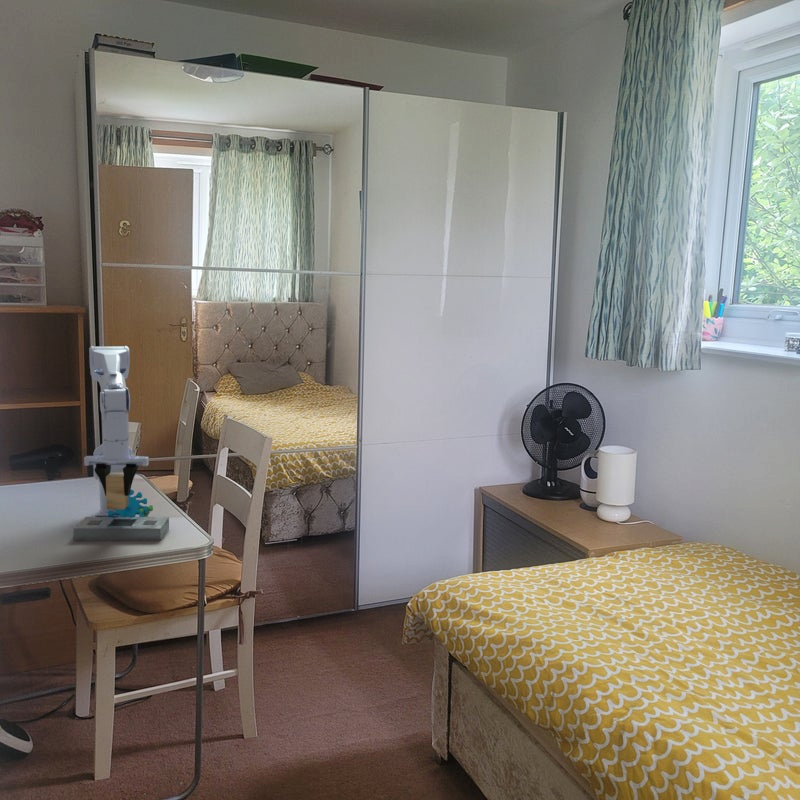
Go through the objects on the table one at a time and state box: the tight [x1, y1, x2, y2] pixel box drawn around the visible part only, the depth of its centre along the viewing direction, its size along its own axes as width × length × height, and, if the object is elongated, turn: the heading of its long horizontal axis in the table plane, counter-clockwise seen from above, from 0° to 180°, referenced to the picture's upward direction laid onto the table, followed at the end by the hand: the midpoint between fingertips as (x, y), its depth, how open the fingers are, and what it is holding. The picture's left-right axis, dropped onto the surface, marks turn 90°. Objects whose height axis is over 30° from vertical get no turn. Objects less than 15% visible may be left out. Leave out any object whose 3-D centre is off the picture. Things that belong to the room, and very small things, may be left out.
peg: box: [106, 472, 129, 509], centre depth 183 cm, size 4×4×8 cm
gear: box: [107, 489, 154, 517], centre depth 196 cm, size 11×6×10 cm
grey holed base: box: [73, 516, 170, 542], centre depth 185 cm, size 9×20×3 cm, turn 94°
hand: (117, 494), depth 184 cm, fingers closed on peg, 4 cm apart
